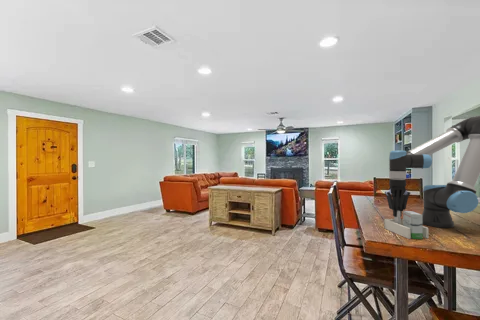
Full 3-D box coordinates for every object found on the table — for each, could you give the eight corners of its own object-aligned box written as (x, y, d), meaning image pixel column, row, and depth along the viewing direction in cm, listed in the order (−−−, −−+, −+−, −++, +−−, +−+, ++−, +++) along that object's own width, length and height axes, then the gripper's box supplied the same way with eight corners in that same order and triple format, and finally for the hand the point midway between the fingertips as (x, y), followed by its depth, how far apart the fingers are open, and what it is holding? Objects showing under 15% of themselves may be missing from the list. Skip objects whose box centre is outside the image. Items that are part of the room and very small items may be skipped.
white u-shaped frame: (401, 227, 129) (401, 218, 129) (428, 238, 112) (428, 227, 112) (384, 228, 129) (384, 219, 129) (408, 238, 111) (408, 228, 111)
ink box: (423, 239, 110) (423, 214, 110) (411, 238, 111) (411, 214, 111) (413, 233, 119) (413, 210, 119) (402, 233, 120) (402, 210, 120)
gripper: (403, 178, 129) (403, 220, 129) (381, 178, 128) (380, 220, 128) (414, 179, 121) (414, 224, 121) (390, 179, 121) (390, 224, 121)
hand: (397, 222), depth 125 cm, fingers closed
